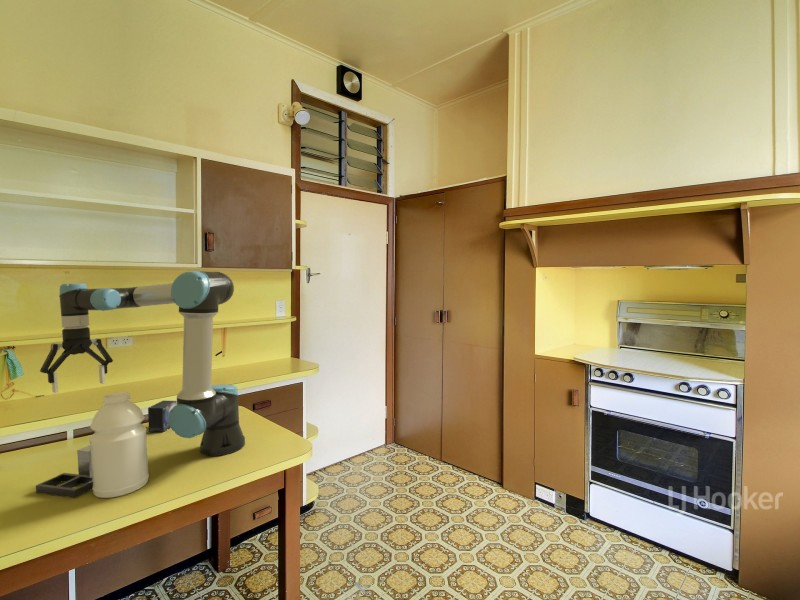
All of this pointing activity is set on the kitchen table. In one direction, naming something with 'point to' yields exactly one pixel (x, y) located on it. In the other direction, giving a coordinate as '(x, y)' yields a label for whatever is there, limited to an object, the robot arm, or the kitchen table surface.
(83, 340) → the robot arm
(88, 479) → the divided tray
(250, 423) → the kitchen table surface
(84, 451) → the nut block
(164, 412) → the small box
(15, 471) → the kitchen table surface
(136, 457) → the bottle
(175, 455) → the kitchen table surface
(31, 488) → the kitchen table surface
